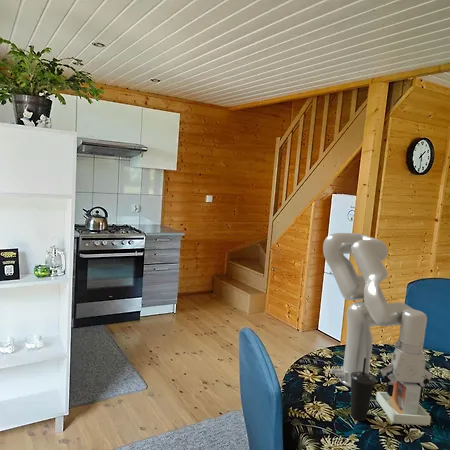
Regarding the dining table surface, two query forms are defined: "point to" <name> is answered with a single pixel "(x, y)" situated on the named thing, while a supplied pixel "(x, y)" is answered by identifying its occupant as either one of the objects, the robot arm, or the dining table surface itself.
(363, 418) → the drinking cup
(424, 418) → the tray
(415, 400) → the small box
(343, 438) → the dining table surface
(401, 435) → the dining table surface
